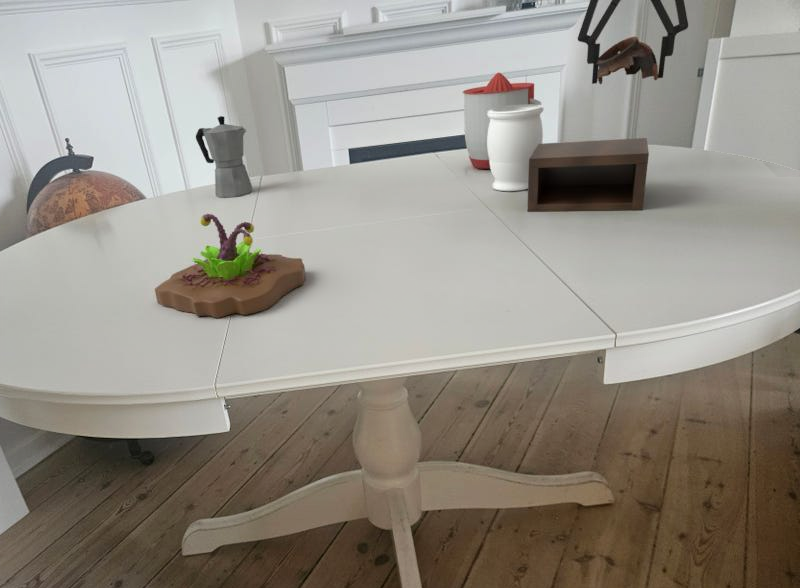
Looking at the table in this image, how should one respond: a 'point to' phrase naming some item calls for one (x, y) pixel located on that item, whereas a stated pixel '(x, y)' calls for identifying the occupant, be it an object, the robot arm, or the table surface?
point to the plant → (231, 278)
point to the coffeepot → (226, 158)
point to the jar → (513, 144)
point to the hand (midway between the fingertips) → (626, 80)
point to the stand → (588, 175)
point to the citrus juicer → (481, 102)
